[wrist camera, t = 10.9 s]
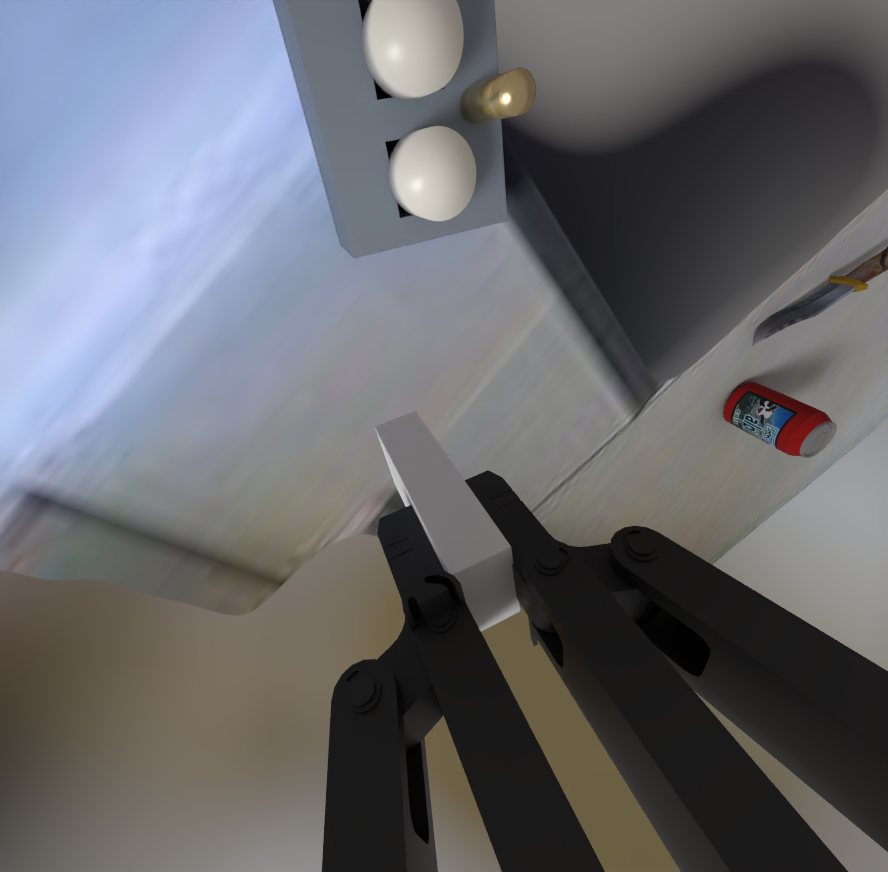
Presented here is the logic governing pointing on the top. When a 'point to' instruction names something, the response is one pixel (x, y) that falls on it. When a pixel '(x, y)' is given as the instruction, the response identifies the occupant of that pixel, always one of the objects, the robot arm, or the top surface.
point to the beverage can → (779, 420)
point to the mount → (386, 122)
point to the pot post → (498, 97)
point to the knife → (824, 297)
